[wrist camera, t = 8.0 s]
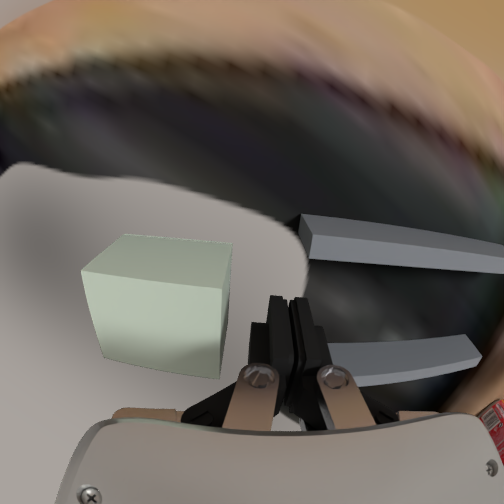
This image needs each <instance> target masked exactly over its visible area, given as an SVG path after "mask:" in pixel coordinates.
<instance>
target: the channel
mask: <svg viewBox="0 0 504 504" xmlns="http://www.w3.org/2000/svg"><path fill="white" fill-rule="evenodd" d="M298 234H299V236H300V239H301V241H302V243H303V246H304V248H305V250H306V253H307V255H308V258H309V259H321V260H334V261H346V262H359V263H371V264H384V265H397V266H409V267H422V268H435V269H448V270H461V271H474V272H487V273H500V274H504V246H503V245H500V244H496V243H491V242H486V241H481V240H476V239H471V238H465V237H460V236H455V235H449V234H443V233H438V232H432V231H426V230H420V229H413V228H407V227H400V226H394V225H387V224H380V223H373V222H365V221H358V220H350V219H342V218H334V217H325V216H316V215H307V214H301V218H300V225H299V232H298ZM327 344H328V347H329V351H330V355H331V359H332V362H333V365H337V366H341V367H343V368H345V369H346V370H348V371H349V372H350V373H351V375H352V377H353V378H354V380H355V382H356V384H357V386H358V387H360V386H371V385H380V384H389V383H396V382H403V381H409V380H416V379H421V378H427V377H432V376H437V375H442V374H446V373H451V372H455V371H459V370H463V369H467V368H471V367H474V366H477V364H478V363H479V361H480V359H481V358H482V355H481V354H480V353H479V351H478V350H477V349H476V347H475V346H474V345H473V344H472V342H471V341H470V340H469V339H468V337H467V336H466V335H465V334H463V335H455V336H447V337H439V338H429V339H418V340H405V341H389V342H367V343H327Z"/></svg>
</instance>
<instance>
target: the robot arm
mask: <svg viewBox="0 0 504 504" xmlns="http://www.w3.org/2000/svg"><path fill="white" fill-rule="evenodd" d="M283 399H284V405H285V406H289V413H294V414H295V415H297V416H298V417H299V418H300V419H299V423H300V427H301V430H302V431H292V432H291V431H290V432H289V431H271V426H272V421H273V417H275V416H276V415H277V414H278V413H279V410H280V407H281V405H282V402H283ZM98 490H99V491H98ZM55 504H504V466H503V463H502V461H501V458H500V455H499V453H498V451H497V448H496V446H495V444H494V442H493V440H492V438H491V436H490V434H489V432H488V430H487V429H486V427H485V426H484V424H483V423H482V422H481V420H480V419H479V418H477V417H476V416H474V415H471V414H467V413H460V412H447V413H438V412H416V411H399V412H398V413H395V412H394V411H393V410H392V409H390V408H388V407H387V406H385V405H383V404H381V403H380V402H378V401H376V400H374V399H373V398H371V397H369V396H368V395H366V394H364V393H362V392H361V391H360V390H359V388H358V386H357V384H356V382H355V380H354V378H353V377H352V375H351V373H350V372H349V371H348V370H346V369H345V368H343V367H341V366H337V365H333V362H332V359H331V355H330V351H329V347H328V344H327V340H326V337H325V333H324V329H323V327H322V326H314V323H313V319H312V315H311V311H310V307H309V303H308V299H307V298H301V297H300V298H299V297H295V298H294V300H290V302H289V307H288V305H287V300H285V299H283V297H282V296H273V295H271V296H270V300H269V307H268V315H267V321H266V323H256V322H252V324H251V333H250V342H249V355H248V365H246V366H245V367H243V368H242V369H241V371H240V373H239V376H238V380H237V381H236V382H235V383H233V384H231V385H230V386H228V387H226V388H224V389H223V390H221V391H219V392H217V393H216V394H214V395H212V396H210V397H208V398H206V399H205V400H203V401H201V402H199V403H197V404H195V405H193V406H191V407H190V408H188V409H187V410H185V411H176V410H175V409H145V408H121V409H120V410H117V411H116V412H115V413H114V414H113V417H112V419H108V420H104V421H101V422H98V423H96V424H95V425H93V426H92V427H91V428H90V429H89V430H88V431H87V432H86V433H85V435H84V436H83V437H82V439H81V441H80V442H79V444H78V446H77V447H76V449H75V451H74V453H73V455H72V457H71V460H70V462H69V464H68V467H67V469H66V472H65V475H64V477H63V479H62V482H61V485H60V488H59V491H58V494H57V498H56V501H55Z"/></svg>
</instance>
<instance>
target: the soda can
mask: <svg viewBox="0 0 504 504" xmlns="http://www.w3.org/2000/svg"><path fill="white" fill-rule="evenodd" d="M477 418H479V419H480V420H481V422H482V423H483V424H484V426H485V427H486V429H487V430H488V432H489V434H490V436H491V438H492V440H493V442H494V444H495V446H496V448H497V451H498V453H499V455H500V458H501V461H502V463H503V466H504V399H502V400H496V401H495V402H493V403H492V404H490V405H489V406H488V407H487V408H486V409H484V410H483V411H482V412H481V413H480V414H479V416H478V417H477Z"/></svg>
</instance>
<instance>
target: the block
mask: <svg viewBox="0 0 504 504" xmlns="http://www.w3.org/2000/svg"><path fill="white" fill-rule="evenodd" d="M232 246H233V243H226V242H215V241H204V240H193V239H181V238H180V239H179V238H169V237H157V236H145V235H134V234H124V235H122V236H121V237H120V238H118V239H117V240H116V241H115V242H114V243H112V244H111V245H110V246H109V247H107V248H106V249H105V250H104V251H103V252H101V253H100V254H99V255H98V256H97V257H95V258H94V259H93V260H92V261H91V262H90V263H89V264H87V265H86V266H85V267H84V268H83V269H82V270H81V275H82V280H83V285H84V289H85V294H86V298H87V302H88V306H89V310H90V314H91V318H92V321H93V325H94V328H95V332H96V335H97V338H98V341H99V344H100V348H101V351H102V354H103V356H104V358H108V359H111V360H115V361H119V362H123V363H127V364H131V365H136V366H140V367H146V368H150V369H155V370H160V371H166V372H171V373H177V374H183V375H190V376H197V377H205V378H212V379H219V378H220V371H221V364H222V358H223V351H224V344H225V337H226V331H227V324H228V309H229V294H230V277H231V261H232Z"/></svg>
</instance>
